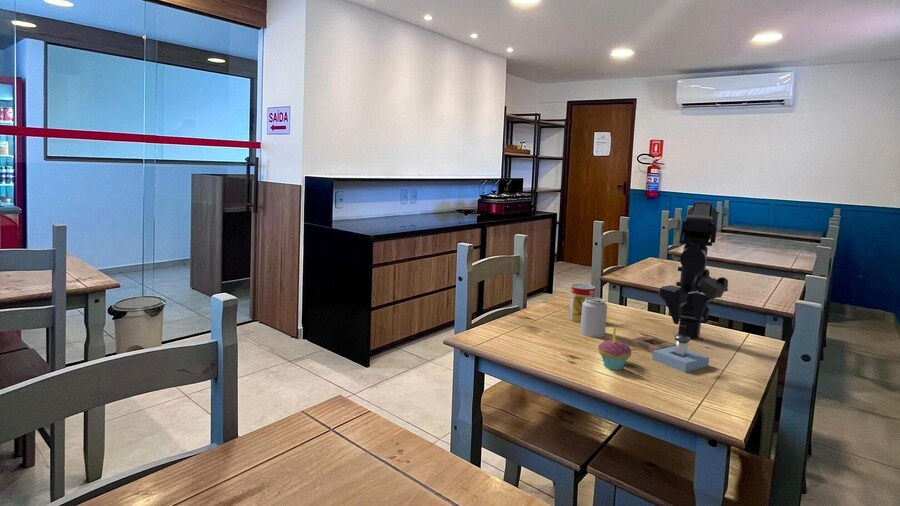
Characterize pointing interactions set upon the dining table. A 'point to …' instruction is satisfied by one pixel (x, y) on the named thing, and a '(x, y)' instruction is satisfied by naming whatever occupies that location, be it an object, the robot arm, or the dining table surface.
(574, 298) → the canned food
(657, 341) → the mount
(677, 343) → the lock pin
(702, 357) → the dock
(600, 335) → the can
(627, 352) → the cupcake
